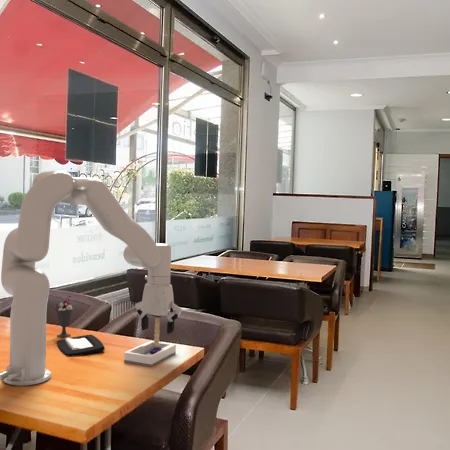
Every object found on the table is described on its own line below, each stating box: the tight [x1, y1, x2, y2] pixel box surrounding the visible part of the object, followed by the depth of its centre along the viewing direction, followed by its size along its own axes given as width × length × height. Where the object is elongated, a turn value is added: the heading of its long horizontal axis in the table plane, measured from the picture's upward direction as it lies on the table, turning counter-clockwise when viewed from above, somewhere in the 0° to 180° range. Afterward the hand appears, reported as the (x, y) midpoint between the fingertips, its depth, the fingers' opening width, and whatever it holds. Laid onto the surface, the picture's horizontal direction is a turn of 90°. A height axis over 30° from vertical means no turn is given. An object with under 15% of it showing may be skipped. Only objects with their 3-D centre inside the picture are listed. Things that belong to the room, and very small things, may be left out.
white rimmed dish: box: [123, 340, 177, 367], centre depth 171 cm, size 16×10×3 cm, turn 158°
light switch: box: [56, 334, 106, 357], centre depth 180 cm, size 20×3×14 cm
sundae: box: [54, 295, 75, 339], centre depth 194 cm, size 7×7×15 cm
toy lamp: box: [150, 315, 161, 354], centre depth 174 cm, size 5×5×17 cm
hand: (157, 331), depth 174 cm, fingers open, 9 cm apart
